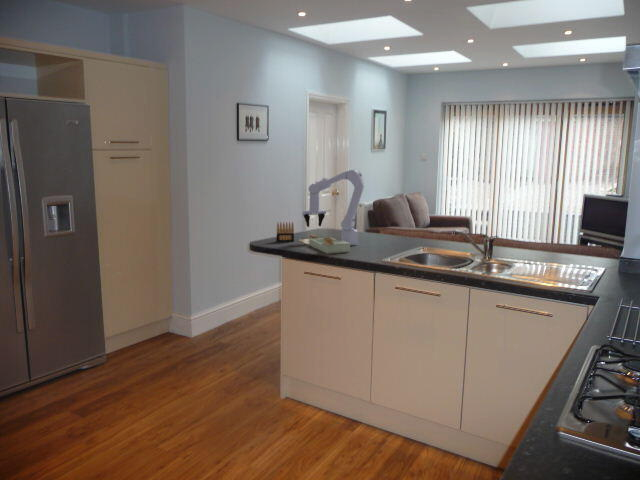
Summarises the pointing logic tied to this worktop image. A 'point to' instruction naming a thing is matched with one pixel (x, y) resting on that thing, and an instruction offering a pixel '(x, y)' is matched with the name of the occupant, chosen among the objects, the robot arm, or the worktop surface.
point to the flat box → (330, 246)
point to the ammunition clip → (285, 233)
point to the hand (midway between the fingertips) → (313, 226)
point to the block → (328, 241)
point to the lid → (307, 241)
